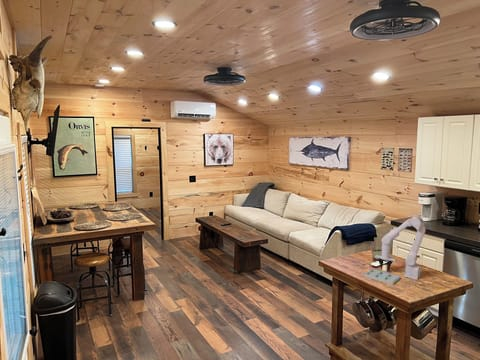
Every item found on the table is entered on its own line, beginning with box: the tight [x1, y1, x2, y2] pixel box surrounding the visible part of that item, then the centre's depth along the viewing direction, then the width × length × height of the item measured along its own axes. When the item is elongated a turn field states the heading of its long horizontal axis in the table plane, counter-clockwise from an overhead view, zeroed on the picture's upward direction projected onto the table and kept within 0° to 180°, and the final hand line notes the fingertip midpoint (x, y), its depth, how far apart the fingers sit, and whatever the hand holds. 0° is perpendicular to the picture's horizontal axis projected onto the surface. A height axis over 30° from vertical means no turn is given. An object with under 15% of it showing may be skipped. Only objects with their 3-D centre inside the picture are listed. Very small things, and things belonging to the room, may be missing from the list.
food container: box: [370, 246, 386, 263], centre depth 284 cm, size 12×6×10 cm, turn 84°
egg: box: [381, 264, 389, 273], centre depth 262 cm, size 4×4×5 cm
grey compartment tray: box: [363, 268, 401, 286], centre depth 251 cm, size 20×14×2 cm
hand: (385, 269), depth 262 cm, fingers closed on egg, 4 cm apart
